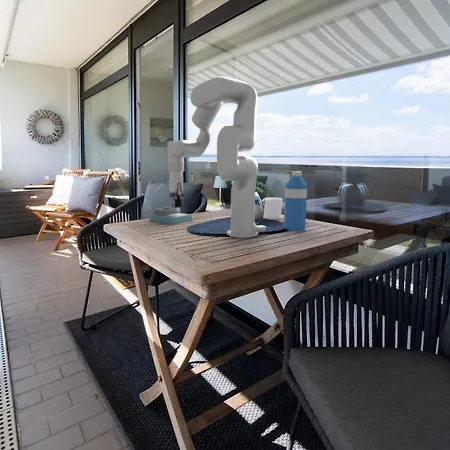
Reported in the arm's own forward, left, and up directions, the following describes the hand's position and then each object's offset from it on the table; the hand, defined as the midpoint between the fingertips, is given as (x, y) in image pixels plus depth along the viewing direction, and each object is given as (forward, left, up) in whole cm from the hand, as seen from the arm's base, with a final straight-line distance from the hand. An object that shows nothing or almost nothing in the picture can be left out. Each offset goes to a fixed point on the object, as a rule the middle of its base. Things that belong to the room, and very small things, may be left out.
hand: (177, 206), depth 163 cm
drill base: (+4, -3, -7) cm, 9 cm away
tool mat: (0, 0, -5) cm, 5 cm away
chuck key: (0, 0, -3) cm, 3 cm away
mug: (-46, -12, -8) cm, 48 cm away
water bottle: (-54, +13, -8) cm, 56 cm away
